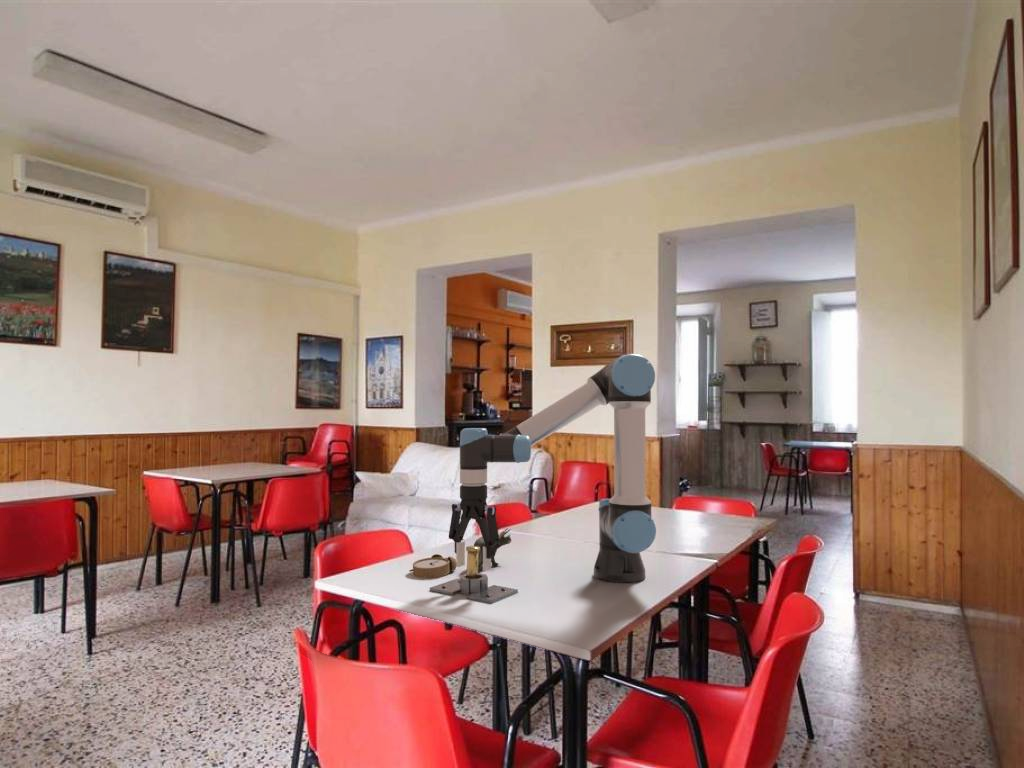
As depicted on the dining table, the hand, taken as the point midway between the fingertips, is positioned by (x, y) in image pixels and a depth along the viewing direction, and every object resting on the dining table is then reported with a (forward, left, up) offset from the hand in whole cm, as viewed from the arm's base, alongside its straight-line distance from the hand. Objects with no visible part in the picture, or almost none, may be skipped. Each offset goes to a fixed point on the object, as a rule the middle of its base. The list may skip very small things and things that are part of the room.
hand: (473, 567), depth 172 cm
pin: (+1, 0, -6) cm, 6 cm away
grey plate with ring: (0, 0, -6) cm, 6 cm away
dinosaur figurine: (+14, -23, -7) cm, 28 cm away
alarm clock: (+23, -10, -7) cm, 26 cm away
